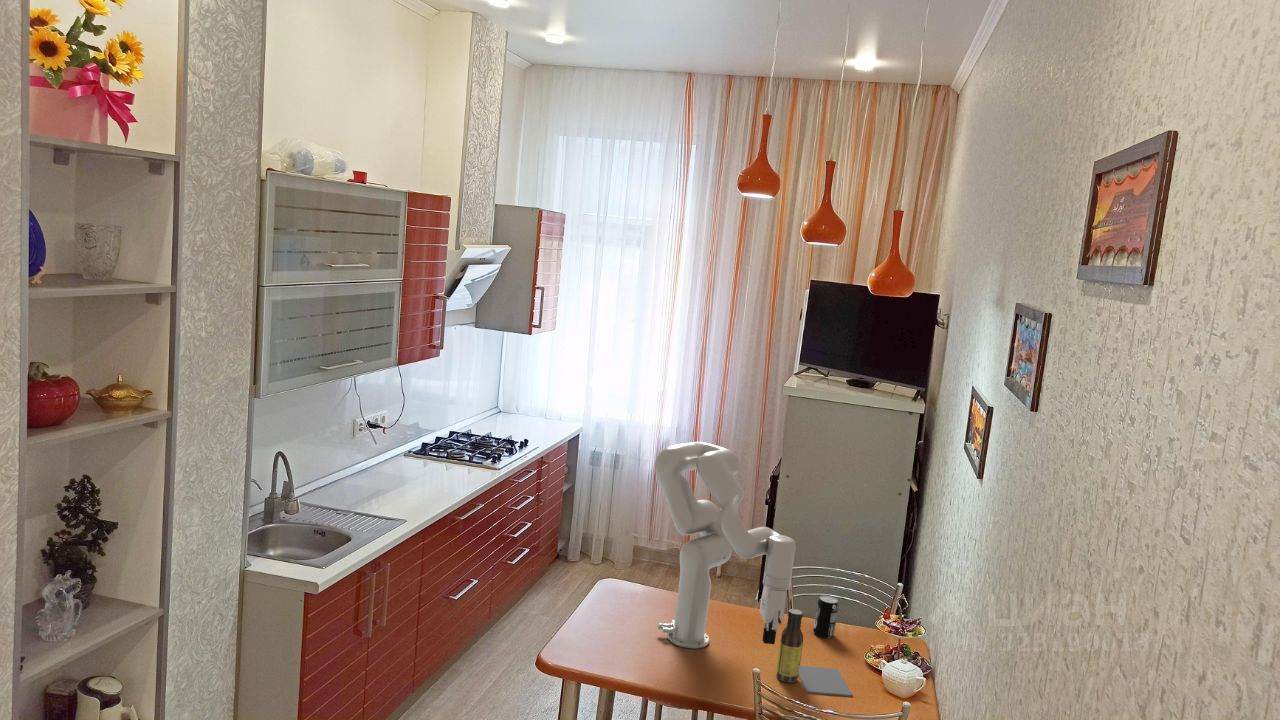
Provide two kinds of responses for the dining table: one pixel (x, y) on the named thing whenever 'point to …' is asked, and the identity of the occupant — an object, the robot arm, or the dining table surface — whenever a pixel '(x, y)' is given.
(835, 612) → the beverage can
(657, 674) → the dining table surface
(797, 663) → the sauce bottle
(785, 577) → the robot arm
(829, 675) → the mat
